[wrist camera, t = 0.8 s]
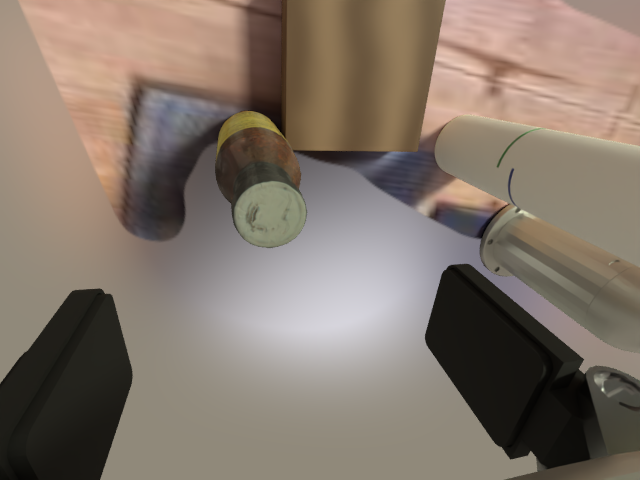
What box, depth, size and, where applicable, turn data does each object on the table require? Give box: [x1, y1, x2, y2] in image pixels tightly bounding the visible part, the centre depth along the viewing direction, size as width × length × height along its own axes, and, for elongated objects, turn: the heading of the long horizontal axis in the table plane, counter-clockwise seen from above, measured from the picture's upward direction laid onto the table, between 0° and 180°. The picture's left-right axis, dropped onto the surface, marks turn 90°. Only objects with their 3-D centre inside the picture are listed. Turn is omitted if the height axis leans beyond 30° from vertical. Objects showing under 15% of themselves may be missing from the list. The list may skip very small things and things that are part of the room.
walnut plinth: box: [281, 0, 446, 152], centre depth 32 cm, size 14×14×4 cm
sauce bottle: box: [215, 111, 307, 248], centre depth 26 cm, size 7×6×20 cm
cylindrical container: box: [435, 115, 640, 267], centre depth 29 cm, size 7×7×25 cm
